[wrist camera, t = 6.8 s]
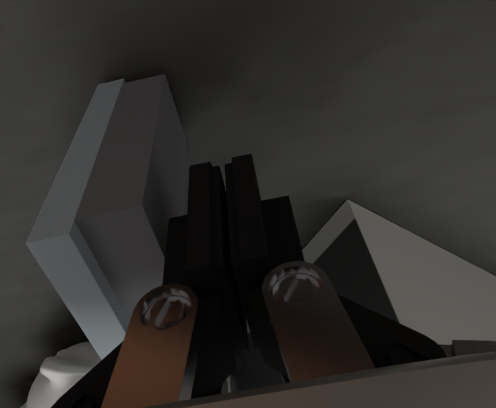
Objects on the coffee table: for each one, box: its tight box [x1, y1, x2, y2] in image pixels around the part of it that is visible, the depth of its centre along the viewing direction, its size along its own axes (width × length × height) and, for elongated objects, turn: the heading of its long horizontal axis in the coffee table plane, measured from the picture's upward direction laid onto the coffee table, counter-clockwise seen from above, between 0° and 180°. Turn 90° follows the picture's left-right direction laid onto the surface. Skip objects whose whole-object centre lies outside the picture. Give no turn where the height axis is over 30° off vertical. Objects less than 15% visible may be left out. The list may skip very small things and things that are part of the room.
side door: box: [26, 74, 188, 359], centre depth 19 cm, size 16×3×9 cm, turn 12°
